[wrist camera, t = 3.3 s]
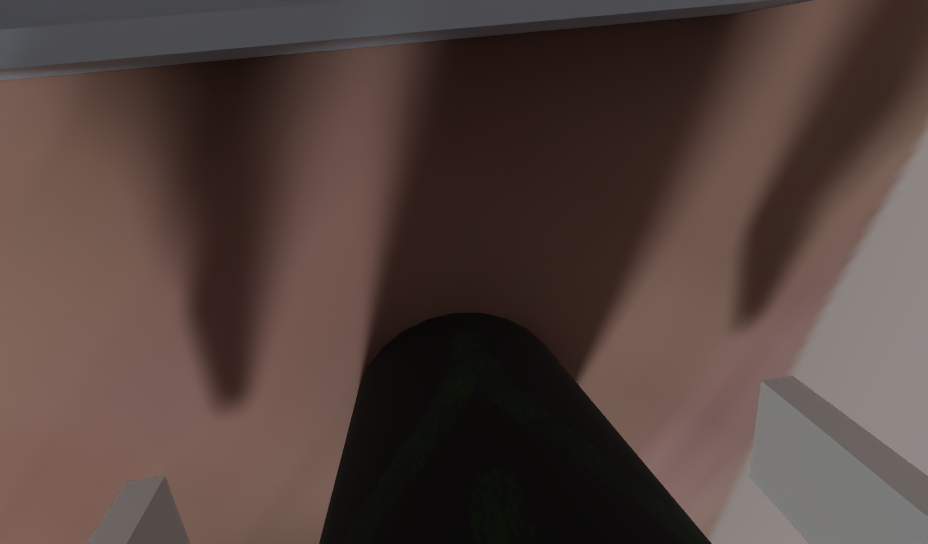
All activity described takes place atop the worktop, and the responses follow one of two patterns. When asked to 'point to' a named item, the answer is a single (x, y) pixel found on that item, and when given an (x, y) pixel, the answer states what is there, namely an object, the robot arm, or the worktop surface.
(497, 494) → the cup
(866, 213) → the worktop surface
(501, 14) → the tray
